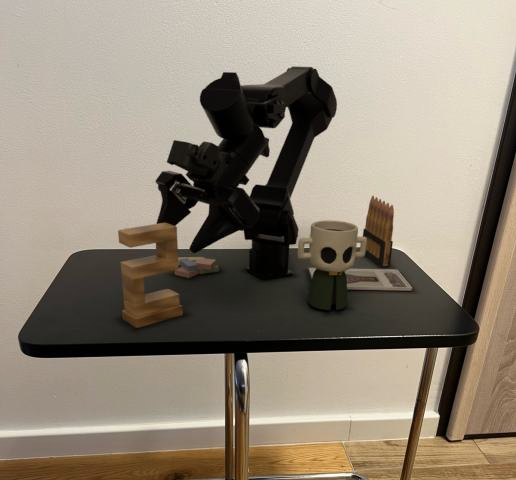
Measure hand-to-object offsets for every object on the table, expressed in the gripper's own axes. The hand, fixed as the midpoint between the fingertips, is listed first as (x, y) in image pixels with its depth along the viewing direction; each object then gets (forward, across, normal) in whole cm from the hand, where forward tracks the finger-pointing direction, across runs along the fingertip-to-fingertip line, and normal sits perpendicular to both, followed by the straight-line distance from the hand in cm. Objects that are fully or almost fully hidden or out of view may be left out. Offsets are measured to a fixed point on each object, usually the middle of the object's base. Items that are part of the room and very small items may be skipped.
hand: (172, 243), depth 78 cm
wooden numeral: (+10, 0, +5) cm, 11 cm away
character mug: (-7, +13, +22) cm, 26 cm away
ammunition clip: (-26, +2, +41) cm, 49 cm away
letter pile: (-2, -14, +17) cm, 22 cm away
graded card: (-17, +8, +32) cm, 37 cm away
